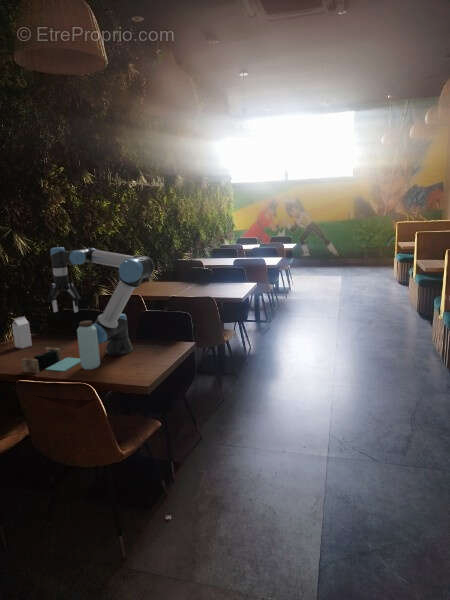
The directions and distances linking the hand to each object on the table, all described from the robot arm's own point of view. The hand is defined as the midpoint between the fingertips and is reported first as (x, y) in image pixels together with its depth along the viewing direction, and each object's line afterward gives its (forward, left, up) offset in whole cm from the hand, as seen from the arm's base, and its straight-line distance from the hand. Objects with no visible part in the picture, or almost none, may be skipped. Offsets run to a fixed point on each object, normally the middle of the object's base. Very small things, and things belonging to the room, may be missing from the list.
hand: (65, 311), depth 237 cm
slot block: (+5, +18, -26) cm, 32 cm away
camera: (+3, +17, -27) cm, 32 cm away
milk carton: (+42, -9, -27) cm, 51 cm away
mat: (-7, +14, -26) cm, 31 cm away
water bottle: (-23, +14, -27) cm, 38 cm away
